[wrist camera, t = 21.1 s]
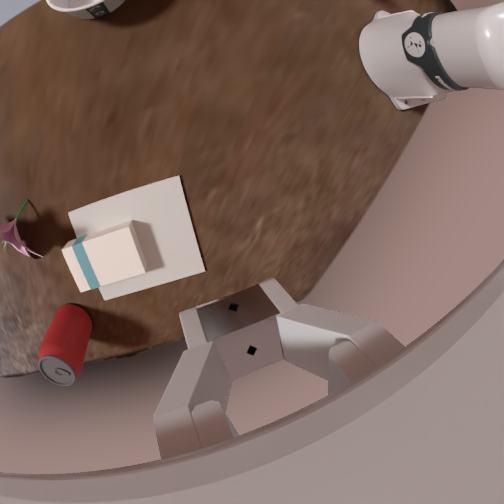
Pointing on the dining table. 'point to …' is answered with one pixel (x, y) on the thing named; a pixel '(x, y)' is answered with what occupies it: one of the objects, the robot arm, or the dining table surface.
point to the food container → (85, 7)
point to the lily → (14, 235)
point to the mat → (147, 232)
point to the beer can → (65, 345)
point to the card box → (105, 256)
